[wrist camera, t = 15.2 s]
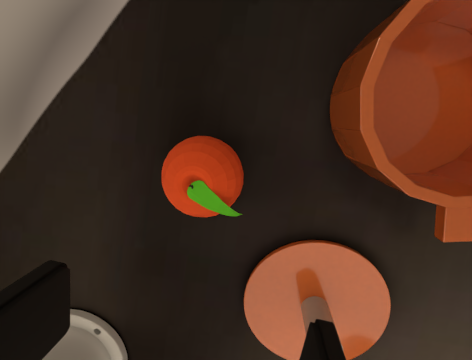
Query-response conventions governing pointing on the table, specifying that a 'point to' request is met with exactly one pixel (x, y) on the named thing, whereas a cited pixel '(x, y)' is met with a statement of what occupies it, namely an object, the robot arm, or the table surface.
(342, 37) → the table surface
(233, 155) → the clementine
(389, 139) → the pot
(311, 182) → the table surface
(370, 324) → the pot lid
